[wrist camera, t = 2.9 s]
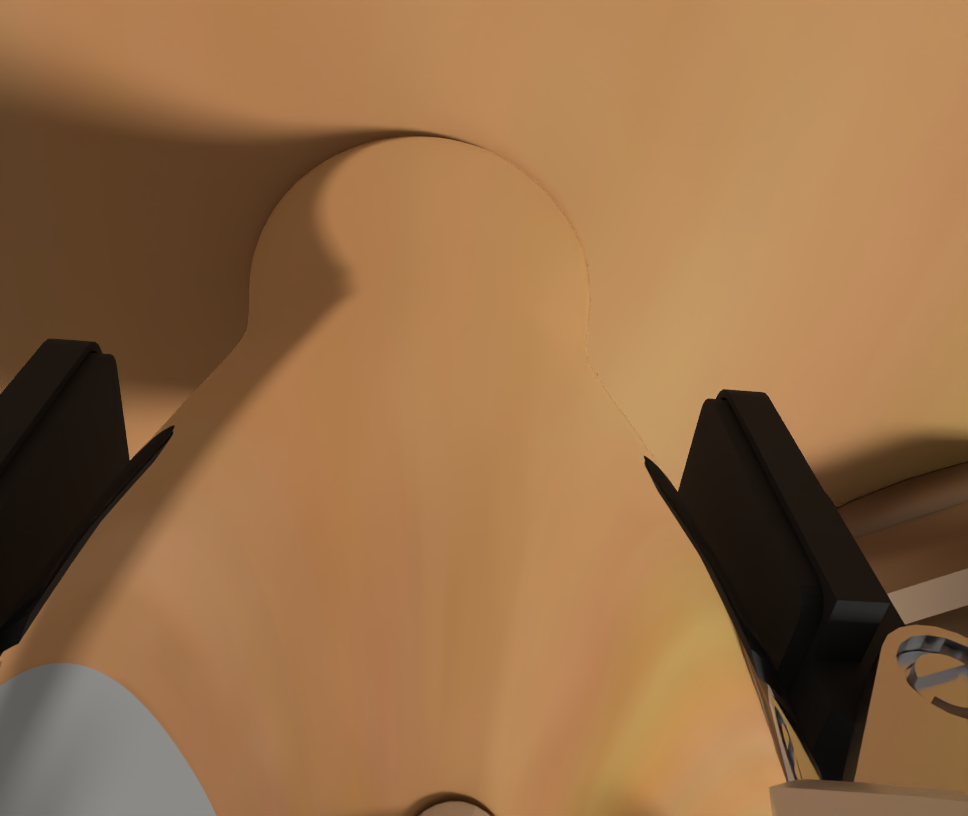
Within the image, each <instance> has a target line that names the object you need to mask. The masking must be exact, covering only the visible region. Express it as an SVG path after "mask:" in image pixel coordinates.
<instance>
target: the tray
mask: <svg viewBox="0 0 968 816" xmlns="http://www.w3.org/2000/svg"><path fill="white" fill-rule="evenodd" d="M837 511H838V512H839V514H840V516H841V517H842V519H843V521H844V522H845V524H846V526H847V527H848V529H849V531H850V533H851V534H852V536H853V538H854V539H855V541H856V543H857V544H858V546H859V548H860V549H861V551H862V553H863V554H864V556H865V558H866V560H867V561H868V563H869V565H870V566H871V568H872V570H873V571H874V573H875V575H876V576H877V578H878V580H879V582H880V583H881V585H882V587H883V588H884V590H885V592H886V593H887V595H888V597H889V598H890V600H891V602H892V603H893V605H894V607H895V609H896V610H897V612H898V614H899V615H900V617H901V619H902V620H903V622H904V624H905V625H906V626H911V625H925V626H934V627H939V628H942V629H945V630H948V631H952V632H955V633H958V634H960V635H962V636H964V637H966V638H968V463H963V464H960V465H956V466H953V467H949V468H946V469H943V470H939V471H936V472H932V473H929V474H925V475H922V476H918V477H915V478H912V479H908V480H905V481H903V482H900V483H898V484H895V485H893V486H890V487H887V488H885V489H882V490H880V491H877V492H875V493H872V494H870V495H867V496H864V497H862V498H859V499H857V500H854V501H852V502H850V503H848V504H846V505H844V506H842V507H840V508H838V509H837Z"/></svg>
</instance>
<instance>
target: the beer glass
mask: <svg viewBox="0 0 968 816" xmlns="http://www.w3.org/2000/svg"><path fill="white" fill-rule="evenodd" d="M590 302H591V296H590V282H589V275H588V268H587V263H586V259H585V255H584V252H583V249H582V246H581V244H580V241H579V239H578V236H577V234H576V232H575V230H574V228H573V226H572V225H571V223H570V221H569V220H568V218H567V217H566V215H565V214H564V212H563V211H562V210H561V208H560V207H559V205H558V204H557V203H556V202H555V201H554V199H553V198H552V197H551V196H550V195H549V194H548V193H547V191H546V190H545V189H544V188H543V187H542V186H541V185H540V184H539V183H537V182H536V181H535V180H534V179H533V178H532V177H531V176H529V175H528V174H527V173H526V172H524V171H523V170H522V169H520V168H519V167H517V166H516V165H514V164H513V163H511V162H510V161H508V160H506V159H504V158H503V157H501V156H499V155H497V154H494V153H492V152H490V151H488V150H485V149H483V148H480V147H477V146H475V145H471V144H468V143H465V142H461V141H457V140H451V139H446V138H439V137H428V136H406V137H395V138H388V139H382V140H377V141H373V142H369V143H365V144H362V145H359V146H356V147H354V148H351V149H348V150H346V151H344V152H342V153H339V154H337V155H335V156H333V157H331V158H330V159H328V160H326V161H325V162H323V163H321V164H320V165H318V166H317V167H315V168H314V169H312V170H311V171H310V172H308V173H307V174H306V175H305V176H303V177H302V178H301V179H300V180H299V181H298V182H297V183H296V184H295V185H294V186H293V187H292V188H291V189H290V190H289V191H288V192H287V193H286V194H285V195H284V197H283V198H282V199H281V200H280V202H279V203H278V204H277V206H276V207H275V209H274V210H273V212H272V213H271V215H270V217H269V218H268V220H267V222H266V224H265V226H264V228H263V230H262V233H261V235H260V238H259V240H258V243H257V246H256V249H255V252H254V256H253V260H252V265H251V272H250V283H249V320H248V326H247V329H246V332H245V334H244V336H243V338H242V339H241V341H240V342H239V343H238V344H237V345H236V347H235V348H234V349H233V350H232V351H231V352H230V354H229V355H228V356H227V357H226V358H225V360H224V361H223V362H222V363H221V364H220V365H219V366H218V367H217V368H216V369H215V370H214V371H213V372H212V373H211V374H210V375H209V376H208V378H207V379H206V380H205V381H204V382H203V383H202V384H201V385H200V386H199V387H198V388H197V389H196V390H195V391H194V392H193V393H192V394H191V395H190V396H189V397H188V398H187V400H186V401H185V402H184V403H183V404H182V405H181V406H180V407H179V408H178V409H177V410H176V411H175V412H174V413H173V414H172V416H171V417H170V418H169V419H168V420H167V421H166V422H165V423H164V424H163V425H162V426H161V428H160V429H159V430H158V431H157V432H156V433H155V434H154V435H153V436H152V437H151V438H150V440H149V441H148V442H147V443H146V444H145V445H144V446H143V447H142V448H141V449H140V450H139V452H138V453H137V454H136V455H135V456H134V457H133V458H132V459H131V460H130V461H129V462H128V464H127V465H126V466H125V467H124V468H123V469H122V470H121V471H120V472H119V473H118V474H117V476H116V477H115V478H114V479H113V480H112V482H111V483H110V484H109V485H108V486H107V488H106V489H105V490H104V491H103V493H102V494H101V495H100V496H99V498H98V499H97V500H96V502H95V503H94V504H93V505H92V507H91V508H90V509H89V510H88V512H87V513H86V514H85V515H84V517H83V518H82V519H81V520H80V522H79V523H78V524H77V525H76V527H75V528H74V529H73V530H72V532H71V533H70V534H69V535H68V537H67V538H66V539H65V541H64V542H63V543H62V544H61V546H60V547H59V548H58V549H57V551H56V552H55V553H54V554H53V556H52V557H51V558H50V559H49V561H48V562H47V563H46V564H45V566H44V567H43V568H42V569H41V571H40V572H39V573H38V574H37V576H36V577H35V578H34V579H33V581H32V582H31V583H30V585H29V586H28V587H27V588H26V590H25V591H24V592H23V594H22V595H21V597H20V598H19V599H18V601H17V602H16V604H15V606H14V607H13V609H12V610H11V612H10V613H9V615H8V617H7V618H6V620H5V621H4V623H3V624H2V626H1V628H0V816H777V814H776V810H775V807H774V803H773V799H772V795H771V792H770V788H769V787H771V786H775V785H778V784H781V783H785V782H788V781H793V780H802V779H812V780H825V778H824V776H823V774H822V772H821V769H820V767H819V765H818V762H817V760H816V758H815V756H814V753H813V751H812V749H811V747H810V744H809V742H808V740H807V738H806V735H805V733H804V731H803V729H802V726H801V724H800V722H799V720H798V717H797V715H796V713H795V711H794V708H793V706H792V704H791V702H790V699H789V697H788V695H787V693H786V690H785V688H784V686H783V684H782V681H781V679H780V677H779V674H778V672H777V670H776V668H775V665H774V663H773V661H772V659H771V656H770V654H769V652H768V650H767V647H766V645H765V643H764V641H763V638H762V636H761V634H760V632H759V630H758V628H757V626H756V624H755V622H754V620H753V618H752V617H751V615H750V613H749V612H748V610H747V608H746V606H745V605H744V603H743V601H742V599H741V598H740V596H739V594H738V592H737V591H736V589H735V587H734V586H733V584H732V582H731V580H730V579H729V577H728V575H727V573H726V572H725V570H724V568H723V567H722V565H721V563H720V561H719V560H718V558H717V556H716V554H715V553H714V551H713V549H712V547H711V546H710V544H709V542H708V541H707V539H706V537H705V535H704V534H703V532H702V530H701V528H700V527H699V525H698V523H697V521H696V520H695V518H694V516H693V515H692V513H691V512H690V510H689V508H688V507H687V505H686V504H685V502H684V501H683V499H682V498H681V496H680V495H679V493H678V492H677V490H676V489H675V488H674V486H673V485H672V483H671V482H670V480H669V479H668V477H667V476H666V474H665V473H664V471H663V470H662V468H661V467H660V465H659V464H658V462H657V461H656V459H655V458H654V456H653V455H652V453H651V452H650V450H649V449H648V448H647V446H646V445H645V443H644V442H643V440H642V439H641V437H640V436H639V434H638V433H637V431H636V430H635V429H634V427H633V426H632V424H631V423H630V422H629V420H628V419H627V417H626V416H625V415H624V413H623V412H622V410H621V409H620V408H619V406H618V405H617V403H616V402H615V400H614V399H613V398H612V396H611V395H610V393H609V392H608V391H607V389H606V388H605V386H604V385H603V383H602V381H601V380H600V378H599V377H598V374H597V373H596V372H595V370H594V369H593V367H592V365H591V363H590V360H589V358H588V355H587V352H586V347H587V338H588V330H589V321H590Z"/></svg>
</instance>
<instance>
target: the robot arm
mask: <svg viewBox="0 0 968 816" xmlns="http://www.w3.org/2000/svg"><path fill="white" fill-rule="evenodd" d="M129 461H130V460H129V452H128V445H127V438H126V430H125V423H124V416H123V408H122V401H121V394H120V386H119V379H118V372H117V365H116V361H115V358H114V356H113V355H111V354H102V351H101V349H100V347H99V345H98V344H97V343H96V342H89V341H76V340H62V339H47V340H46V341H45V342H44V343H43V344H42V345H41V346H40V348H39V349H38V350H37V351H36V352H35V354H34V355H33V356H32V357H31V358H30V360H29V361H28V362H27V363H26V364H25V366H24V367H23V368H22V369H21V370H20V372H19V373H18V374H17V375H16V376H15V378H14V379H13V380H12V381H11V382H10V384H9V385H8V386H7V387H6V388H5V390H4V391H3V392H2V393H1V394H0V628H1V626H2V624H3V623H4V621H5V620H6V618H7V617H8V615H9V613H10V612H11V610H12V609H13V607H14V606H15V604H16V602H17V601H18V599H19V598H20V597H21V595H22V594H23V592H24V591H25V590H26V588H27V587H28V586H29V585H30V583H31V582H32V581H33V579H34V578H35V577H36V576H37V574H38V573H39V572H40V571H41V569H42V568H43V567H44V566H45V564H46V563H47V562H48V561H49V559H50V558H51V557H52V556H53V554H54V553H55V552H56V551H57V549H58V548H59V547H60V546H61V544H62V543H63V542H64V541H65V539H66V538H67V537H68V535H69V534H70V533H71V532H72V530H73V529H74V528H75V527H76V525H77V524H78V523H79V522H80V520H81V519H82V518H83V517H84V515H85V514H86V513H87V512H88V510H89V509H90V508H91V507H92V505H93V504H94V503H95V502H96V500H97V499H98V498H99V496H100V495H101V494H102V493H103V491H104V490H105V489H106V488H107V486H108V485H109V484H110V483H111V482H112V480H113V479H114V478H115V477H116V476H117V474H118V473H119V472H120V471H121V470H122V469H123V468H124V467H125V466H126V465H127V464H128V462H129ZM678 493H679V495H680V496H681V498H682V499H683V501H684V502H685V504H686V505H687V507H688V508H689V510H690V512H691V513H692V515H693V516H694V518H695V520H696V521H697V523H698V525H699V527H700V528H701V530H702V532H703V534H704V535H705V537H706V539H707V541H708V542H709V544H710V546H711V547H712V549H713V551H714V553H715V554H716V556H717V558H718V560H719V561H720V563H721V565H722V567H723V568H724V570H725V572H726V573H727V575H728V577H729V579H730V580H731V582H732V584H733V586H734V587H735V589H736V591H737V592H738V594H739V596H740V598H741V599H742V601H743V603H744V605H745V606H746V608H747V610H748V612H749V613H750V615H751V617H752V618H753V620H754V622H755V624H756V626H757V628H758V630H759V632H760V634H761V636H762V638H763V641H764V643H765V645H766V647H767V650H768V652H769V654H770V656H771V659H772V661H773V663H774V665H775V668H776V670H777V672H778V674H779V677H780V679H781V681H782V684H783V686H784V688H785V690H786V693H787V695H788V697H789V699H790V702H791V704H792V706H793V708H794V711H795V713H796V715H797V717H798V720H799V722H800V724H801V726H802V729H803V731H804V733H805V735H806V738H807V740H808V742H809V744H810V747H811V749H812V751H813V753H814V756H815V758H816V760H817V762H818V765H819V767H820V769H821V772H822V774H823V776H824V778H825V780H812V779H802V780H793V781H788V782H785V783H781V784H778V785H775V786H771V787H769V788H770V792H771V795H772V799H773V803H774V807H775V810H776V814H777V816H968V638H966V637H964V636H962V635H960V634H958V633H955V632H952V631H948V630H945V629H942V628H939V627H934V626H925V625H911V626H906V625H905V624H904V622H903V620H902V619H901V617H900V615H899V614H898V612H897V610H896V609H895V607H894V605H893V603H892V602H891V600H890V598H889V597H888V595H887V593H886V592H885V590H884V588H883V587H882V585H881V583H880V582H879V580H878V578H877V576H876V575H875V573H874V571H873V570H872V568H871V566H870V565H869V563H868V561H867V560H866V558H865V556H864V554H863V553H862V551H861V549H860V548H859V546H858V544H857V543H856V541H855V539H854V538H853V536H852V534H851V533H850V531H849V529H848V527H847V526H846V524H845V522H844V521H843V519H842V517H841V516H840V514H839V512H838V511H837V509H836V507H835V505H834V504H833V502H832V500H831V499H830V498H829V497H828V495H827V494H826V493H825V492H824V490H823V488H822V487H821V485H820V483H819V482H818V480H817V478H816V477H815V475H814V473H813V472H812V470H811V468H810V466H809V465H808V463H807V461H806V460H805V458H804V456H803V455H802V453H801V451H800V449H799V448H798V446H797V444H796V443H795V441H794V439H793V438H792V436H791V434H790V432H789V431H788V429H787V427H786V426H785V424H784V422H783V421H782V419H781V417H780V415H779V414H778V412H777V410H776V409H775V407H774V405H773V404H772V402H771V400H770V398H769V397H768V396H767V395H766V393H763V392H752V391H739V390H725V389H723V390H722V391H720V393H719V394H718V396H717V398H716V399H707V400H705V402H704V404H703V406H702V409H701V412H700V416H699V419H698V423H697V426H696V430H695V433H694V437H693V441H692V444H691V448H690V451H689V455H688V458H687V462H686V465H685V469H684V472H683V476H682V479H681V483H680V487H679V490H678Z"/></svg>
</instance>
